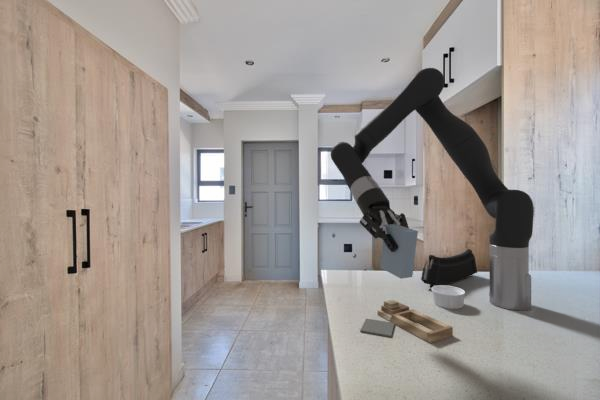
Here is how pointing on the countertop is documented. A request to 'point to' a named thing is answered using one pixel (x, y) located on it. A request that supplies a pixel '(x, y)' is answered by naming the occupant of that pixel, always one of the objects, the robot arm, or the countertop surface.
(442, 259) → the magazine
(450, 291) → the ramekin
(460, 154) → the robot arm
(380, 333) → the pad
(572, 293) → the countertop surface
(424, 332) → the rack
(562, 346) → the countertop surface
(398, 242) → the blue-grey rectangular block
